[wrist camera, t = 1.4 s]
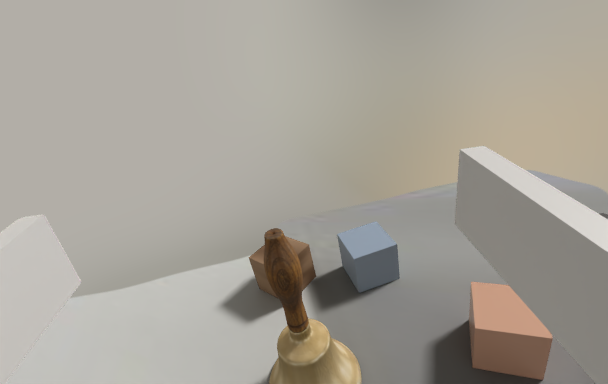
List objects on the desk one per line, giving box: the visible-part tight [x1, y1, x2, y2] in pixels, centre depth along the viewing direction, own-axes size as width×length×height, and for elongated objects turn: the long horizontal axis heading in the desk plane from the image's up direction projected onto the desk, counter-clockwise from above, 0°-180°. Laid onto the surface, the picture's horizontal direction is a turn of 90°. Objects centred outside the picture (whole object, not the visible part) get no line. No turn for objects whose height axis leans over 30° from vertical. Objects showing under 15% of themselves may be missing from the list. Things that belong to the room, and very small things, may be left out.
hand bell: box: [264, 228, 361, 384], centre depth 27 cm, size 8×8×16 cm
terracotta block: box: [469, 282, 553, 380], centre depth 29 cm, size 5×5×5 cm
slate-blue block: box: [337, 221, 400, 293], centre depth 40 cm, size 5×5×5 cm
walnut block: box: [249, 236, 316, 299], centre depth 41 cm, size 5×5×5 cm
